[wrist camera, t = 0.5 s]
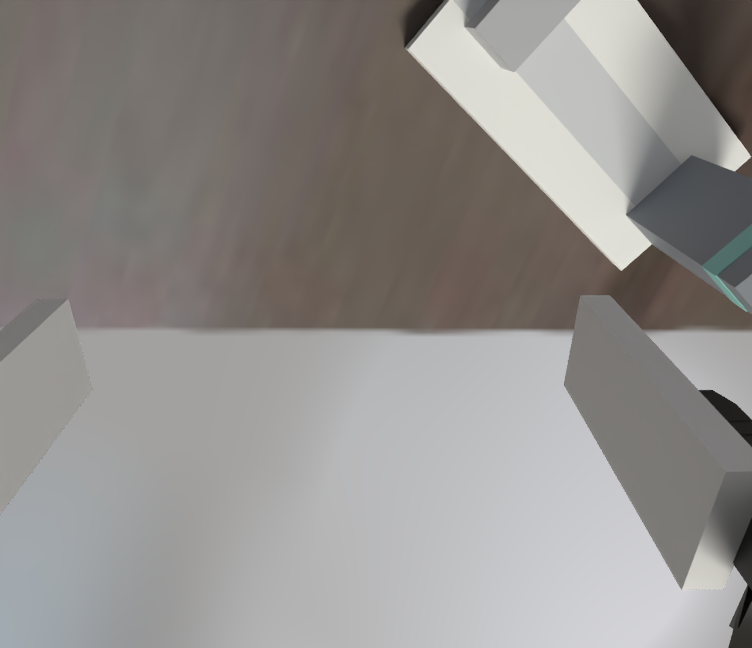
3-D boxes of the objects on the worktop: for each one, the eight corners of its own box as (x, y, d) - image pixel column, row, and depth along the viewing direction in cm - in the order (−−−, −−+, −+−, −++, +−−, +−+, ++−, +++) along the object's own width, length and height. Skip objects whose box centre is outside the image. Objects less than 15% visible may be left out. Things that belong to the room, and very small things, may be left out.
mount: (539, -114, 29) (670, -190, 18) (736, 152, 37) (912, 211, 26) (404, 47, 32) (447, 66, 21) (611, 262, 40) (722, 357, 29)
